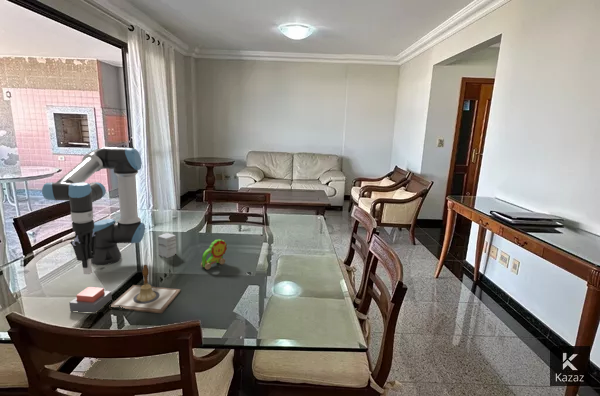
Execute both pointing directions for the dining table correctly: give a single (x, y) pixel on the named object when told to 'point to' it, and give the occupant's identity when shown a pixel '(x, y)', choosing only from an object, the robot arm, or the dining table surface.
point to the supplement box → (167, 245)
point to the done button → (90, 294)
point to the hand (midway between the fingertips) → (88, 273)
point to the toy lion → (214, 254)
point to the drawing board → (155, 305)
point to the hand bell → (146, 288)
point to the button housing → (90, 303)
